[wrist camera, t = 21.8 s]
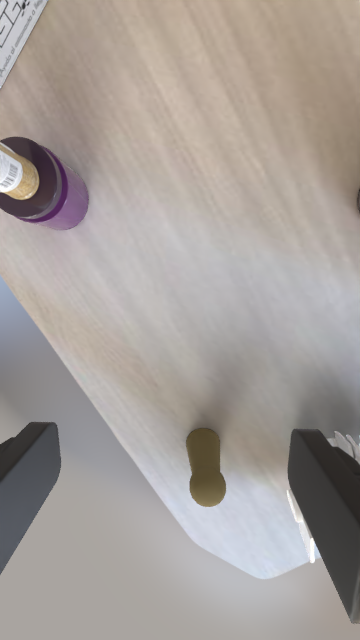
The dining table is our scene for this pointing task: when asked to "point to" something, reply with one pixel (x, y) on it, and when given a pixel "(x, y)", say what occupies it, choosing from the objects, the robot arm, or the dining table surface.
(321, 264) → the dining table surface
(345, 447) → the spiral staircase
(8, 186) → the sprinkles bottle
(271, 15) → the dining table surface
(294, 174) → the dining table surface
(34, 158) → the plum jar
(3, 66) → the cereal box
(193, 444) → the olive game pawn
